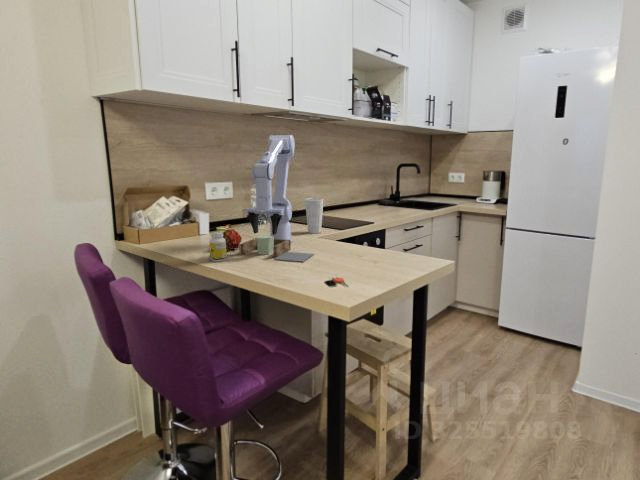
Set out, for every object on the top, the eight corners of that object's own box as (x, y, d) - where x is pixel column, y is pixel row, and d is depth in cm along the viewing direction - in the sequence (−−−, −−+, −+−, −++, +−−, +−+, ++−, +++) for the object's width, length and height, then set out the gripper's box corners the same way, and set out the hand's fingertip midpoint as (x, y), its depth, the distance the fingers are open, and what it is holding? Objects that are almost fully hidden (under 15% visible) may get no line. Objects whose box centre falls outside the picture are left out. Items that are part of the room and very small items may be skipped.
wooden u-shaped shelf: (256, 247, 163) (256, 237, 162) (290, 250, 159) (290, 239, 158) (240, 254, 152) (240, 244, 151) (276, 257, 147) (276, 246, 146)
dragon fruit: (223, 257, 155) (233, 254, 167) (241, 244, 154) (249, 241, 166) (210, 238, 155) (220, 236, 167) (227, 225, 154) (237, 224, 166)
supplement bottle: (210, 258, 146) (208, 231, 144) (225, 257, 148) (224, 230, 146) (211, 262, 142) (210, 234, 139) (228, 261, 143) (226, 233, 141)
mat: (286, 252, 154) (286, 251, 154) (314, 254, 151) (314, 253, 151) (273, 260, 144) (273, 258, 144) (303, 262, 141) (303, 261, 140)
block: (263, 251, 158) (262, 235, 156) (274, 251, 156) (273, 236, 155) (257, 253, 153) (257, 237, 152) (268, 254, 152) (268, 238, 151)
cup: (301, 232, 193) (301, 199, 190) (315, 229, 199) (315, 197, 195) (313, 234, 187) (313, 200, 184) (327, 232, 192) (327, 199, 189)
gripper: (240, 197, 149) (242, 234, 152) (277, 198, 144) (278, 236, 147) (250, 195, 156) (251, 231, 158) (285, 196, 151) (286, 233, 154)
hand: (265, 233), depth 153 cm, fingers open, 7 cm apart
